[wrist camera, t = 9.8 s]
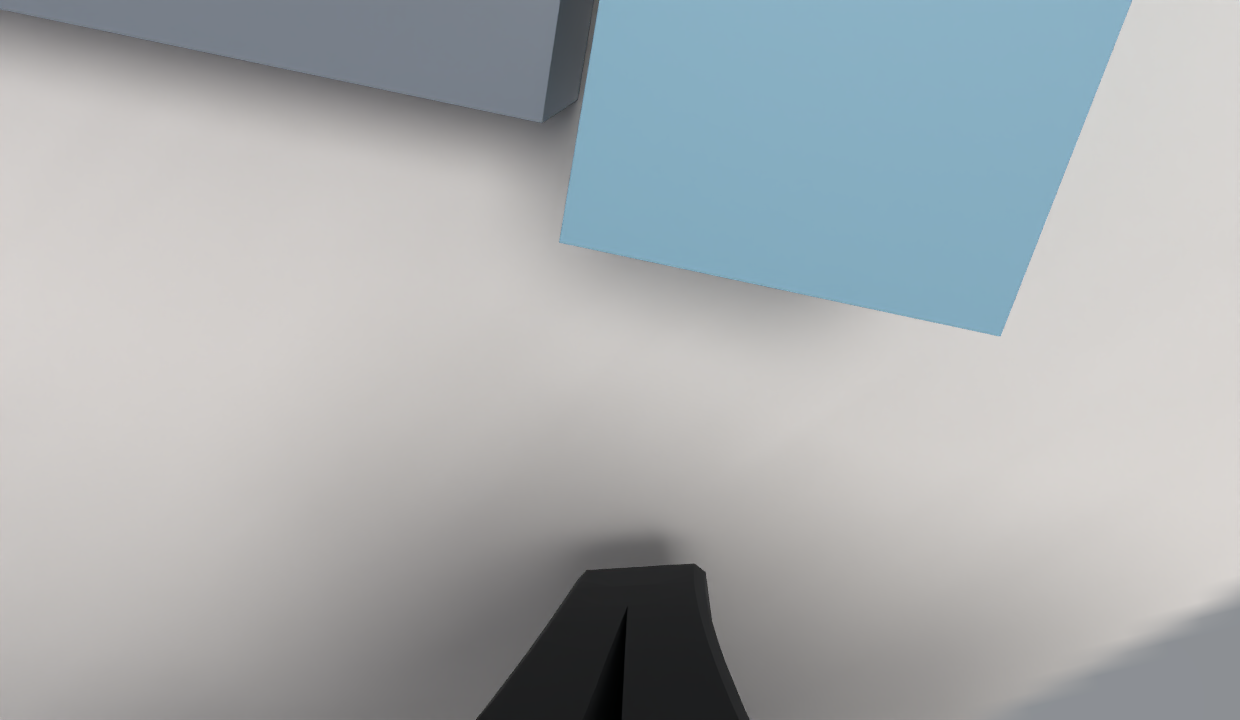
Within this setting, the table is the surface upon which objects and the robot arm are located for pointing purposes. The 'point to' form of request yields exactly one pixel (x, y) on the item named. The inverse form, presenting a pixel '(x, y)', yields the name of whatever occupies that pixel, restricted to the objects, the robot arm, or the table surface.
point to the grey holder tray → (373, 42)
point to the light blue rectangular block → (837, 143)
